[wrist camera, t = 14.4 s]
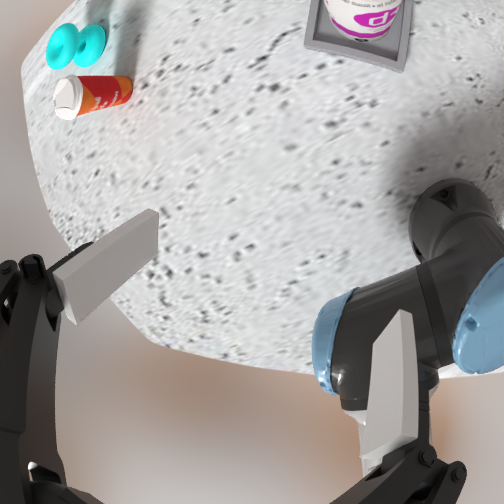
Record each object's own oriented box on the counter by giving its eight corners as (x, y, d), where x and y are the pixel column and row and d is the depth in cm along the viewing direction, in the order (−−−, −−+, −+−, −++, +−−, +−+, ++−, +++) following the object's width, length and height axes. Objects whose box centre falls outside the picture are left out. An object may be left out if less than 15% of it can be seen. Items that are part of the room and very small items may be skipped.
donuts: (45, 33, 28) (71, 15, 25) (81, 33, 36) (110, 18, 33) (43, 76, 33) (67, 62, 30) (79, 71, 41) (107, 60, 38)
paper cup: (111, 112, 44) (54, 126, 33) (108, 77, 40) (50, 84, 29) (139, 103, 41) (78, 114, 30) (135, 66, 38) (74, 67, 26)
